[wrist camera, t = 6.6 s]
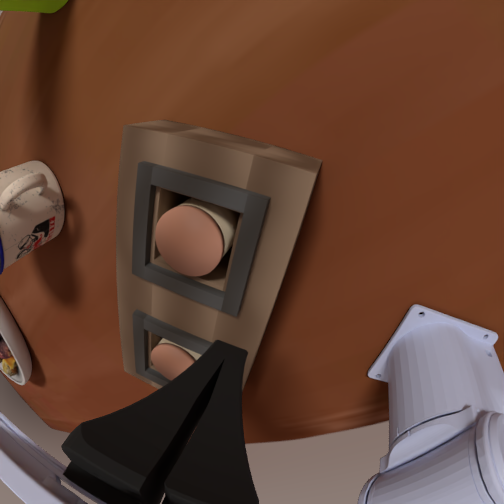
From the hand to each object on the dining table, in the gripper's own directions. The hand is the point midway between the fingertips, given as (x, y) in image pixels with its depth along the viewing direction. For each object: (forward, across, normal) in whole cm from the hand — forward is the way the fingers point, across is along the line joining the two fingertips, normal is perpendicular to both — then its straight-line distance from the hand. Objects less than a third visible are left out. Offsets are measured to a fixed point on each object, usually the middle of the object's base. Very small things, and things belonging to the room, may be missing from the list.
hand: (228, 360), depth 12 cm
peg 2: (+10, +4, +10) cm, 15 cm away
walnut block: (+10, +4, +4) cm, 12 cm away
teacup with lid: (+11, +24, +2) cm, 26 cm away
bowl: (+12, +52, +36) cm, 64 cm away
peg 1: (+10, +4, -1) cm, 11 cm away
